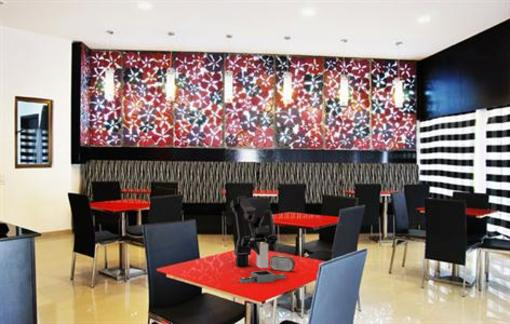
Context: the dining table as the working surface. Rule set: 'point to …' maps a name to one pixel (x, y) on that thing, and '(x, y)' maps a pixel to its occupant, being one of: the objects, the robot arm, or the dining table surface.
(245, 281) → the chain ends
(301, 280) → the dining table surface
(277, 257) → the tin
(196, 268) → the dining table surface
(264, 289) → the dining table surface
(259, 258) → the grey upright column
